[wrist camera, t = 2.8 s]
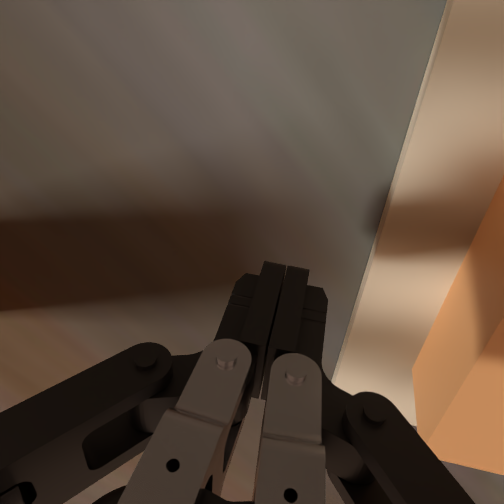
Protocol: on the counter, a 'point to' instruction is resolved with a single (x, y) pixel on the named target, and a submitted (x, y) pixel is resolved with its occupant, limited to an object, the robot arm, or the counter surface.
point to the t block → (468, 357)
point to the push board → (430, 204)
